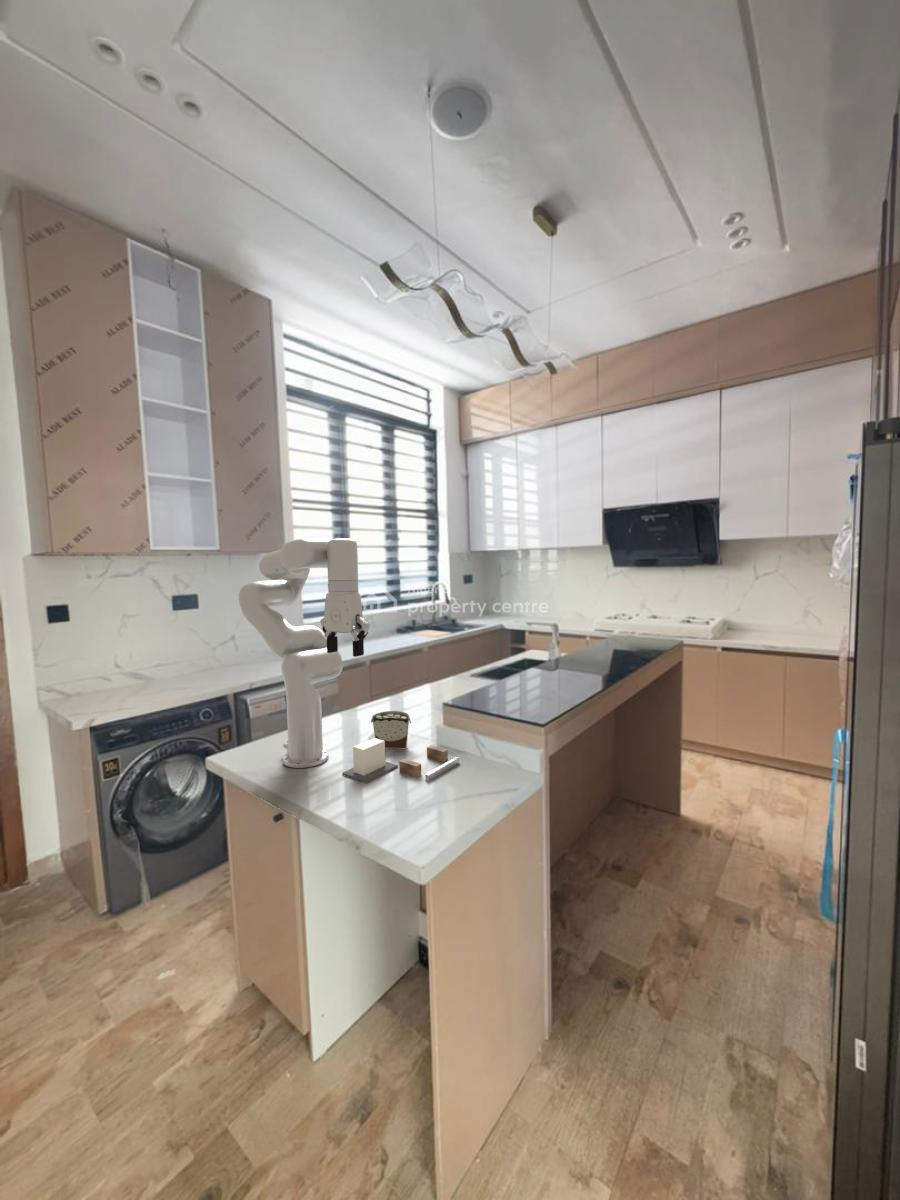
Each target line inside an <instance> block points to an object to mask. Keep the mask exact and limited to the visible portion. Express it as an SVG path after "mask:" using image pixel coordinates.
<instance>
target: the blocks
mask: <svg viewBox="0 0 900 1200" xmlns="http://www.w3.org/2000/svg"><path fill="white" fill-rule="evenodd" d="M448 754H449V751H448V749H447V748H442V747H439V746H435V745H432V744H431V745H429V746H427V747H426V757H427V758H428V759H431V760H435V761H438V762H441V763H442V762H443V763H442V764H441V765H439V766H438V767H436V768H433V769H431V770H430V771H428V772H427V773H425V781H427V782H430V781H432V780H433V779H435V778H436V777H438V776H440V775H442V774H443V773H445V772H447V771H449V770H450V769H451V767H452V768H454V767H455V766H456V764H457V765H458V764H460V757H459V756H455V757H452V759H450V760H449V759H448V758H449V755H448ZM446 760H447V761H446ZM398 765H399V772H400V773H401V774H404V775H408V776H411V777H414V778H418V777H420V776H421V775H422V763H420V762H416V761H413V760H409V759H406V758H403V759H401V760H399V762H398ZM454 765H455V766H454Z"/></svg>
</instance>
